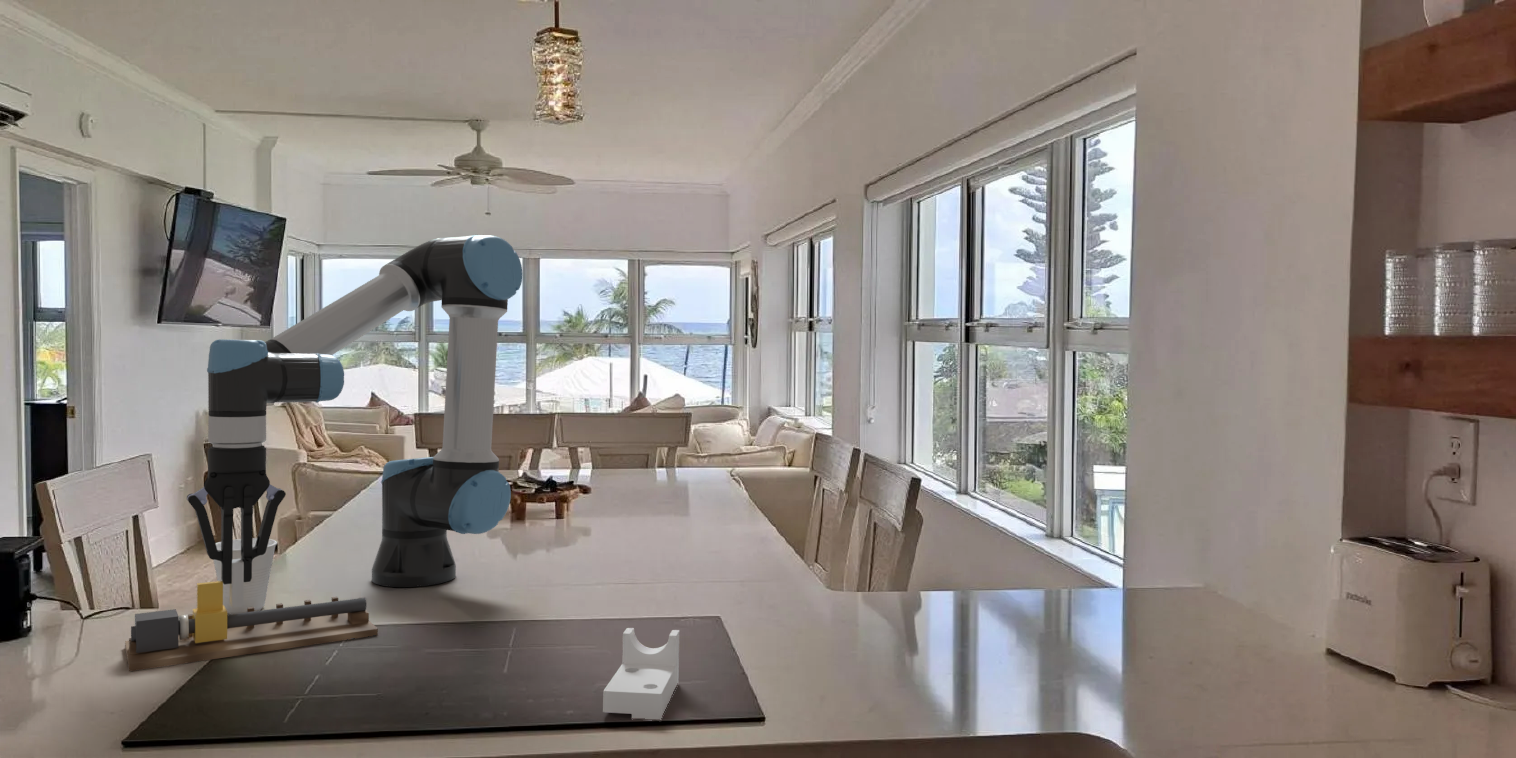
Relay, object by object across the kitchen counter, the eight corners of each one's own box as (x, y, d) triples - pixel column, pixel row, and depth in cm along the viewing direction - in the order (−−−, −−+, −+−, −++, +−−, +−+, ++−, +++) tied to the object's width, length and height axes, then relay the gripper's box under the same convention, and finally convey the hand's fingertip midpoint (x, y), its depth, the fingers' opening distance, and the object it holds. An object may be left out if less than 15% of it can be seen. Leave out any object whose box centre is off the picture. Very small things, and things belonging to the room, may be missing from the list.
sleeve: (223, 631, 144) (223, 578, 144) (227, 638, 141) (227, 583, 140) (192, 636, 142) (192, 581, 141) (195, 643, 138) (195, 587, 138)
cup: (248, 619, 156) (248, 551, 155) (194, 615, 158) (195, 547, 157) (289, 604, 165) (290, 540, 165) (239, 600, 167) (239, 536, 167)
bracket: (626, 683, 131) (627, 627, 130) (678, 686, 130) (679, 630, 130) (602, 719, 118) (603, 658, 117) (660, 722, 117) (661, 660, 117)
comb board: (358, 616, 159) (359, 592, 159) (377, 635, 149) (377, 609, 149) (125, 647, 140) (125, 620, 140) (129, 671, 130) (129, 641, 130)
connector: (186, 637, 141) (186, 607, 141) (189, 645, 138) (189, 615, 138) (134, 644, 138) (134, 613, 138) (136, 653, 134) (136, 621, 134)
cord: (363, 608, 154) (363, 596, 154) (366, 611, 153) (366, 599, 152) (130, 639, 136) (130, 624, 136) (131, 642, 135) (131, 628, 135)
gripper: (281, 440, 149) (280, 593, 150) (183, 444, 142) (182, 605, 142) (290, 445, 143) (289, 604, 144) (188, 448, 135) (187, 617, 136)
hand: (236, 604), depth 143 cm, fingers closed
